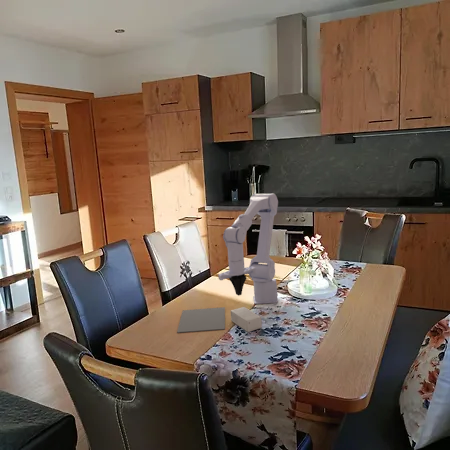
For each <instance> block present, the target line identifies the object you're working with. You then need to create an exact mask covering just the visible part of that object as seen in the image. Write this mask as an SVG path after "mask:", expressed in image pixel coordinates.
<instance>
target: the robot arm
mask: <svg viewBox="0 0 450 450" xmlns="http://www.w3.org/2000/svg"><path fill="white" fill-rule="evenodd" d="M278 199H279V198H278V197H277V195H276V194H275V193H253V194H252V195H251V196H250V198H249V205H248V207H247V209H246V211H244V213H242V214H239V215H238V217H237V218H236V219H235V221H234V222H232V223H233V224H231V226H229V227H227V228H225V229H224V232H223V236H222V238H223V239H222V240H224V242H225V247H226V248H227V261H228V270H227V271H224V272H221V273H218V275H217V276H218V280H219V281H224V280H225V279H229V281H230V282H231V284H232V286H233V289H234V292H235V294H236V295H237V296H242V294H243V289H244V285H245V282H246V280H247V276H246V275H248V277H249V278H250V279H251V281H253V293H254V294H253V303H254V305H261V304H262V305H263V304H276V303H278V302H279V301H278V296H279V295H278V286H277V279H276V278H274V277H275V275H276V266H275V265H276V264H275V263H276V262H275V261H274V259H272V258H271V257H270V254H271V246H272V245H271V243H272V235H273V228H274V221H275V220H274V219H275V216H276V215H277V214H278V206H279V200H278ZM256 215H259V216H260V219H261V220H260V227H259V235H258V241H257V251H256V255H255V256H254V257H253V258H251V259H250V264H249V266H248V267H247V266H246V267H245V257H244V244H243V243H244V242H245V240H246V237H247V231H248V230H249V229H250V227H251V226H252V224H253V221H252V220H253V218H254V217H255V216H256Z"/></svg>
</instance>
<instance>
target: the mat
mask: <svg viewBox="0 0 450 450" xmlns="http://www.w3.org/2000/svg"><path fill="white" fill-rule="evenodd" d="M225 322H226V307H225V306H224V307H223V306H222V307H211V308H209V307H208V308H198V309H196V308H195V309H184V310H183V309H182V312H181V315H180V319H179V323H178V327H177V330H176V331H177V332H176V333H177V334H181V333H183V334H184V333H193V332H194V333H195V332H207V331H208V332H209V331H221V330H226V323H225Z"/></svg>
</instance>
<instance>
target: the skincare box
mask: <svg viewBox="0 0 450 450" xmlns="http://www.w3.org/2000/svg"><path fill="white" fill-rule="evenodd" d="M230 321H231V322H232V323H234V324H235V325H237V326H238V327H240V328H241V329H243V330H244V331H246V332H247V333H250V332H252V331H256V330H258V329H261V328H263V325H262V324H263V322H262V316H261V315H258V314H257V313H255V312H254V311H252V310H250V309H249V308H246V307H245V306H242V307H239V308H238V307H237V308H235V309H231V310H230Z"/></svg>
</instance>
